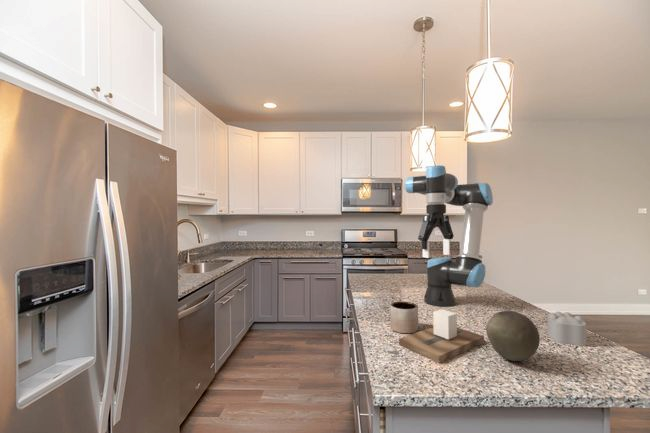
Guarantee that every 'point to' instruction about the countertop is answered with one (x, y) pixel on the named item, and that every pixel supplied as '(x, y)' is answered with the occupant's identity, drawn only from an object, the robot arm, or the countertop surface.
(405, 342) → the fader board
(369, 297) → the countertop surface
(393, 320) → the planter
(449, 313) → the fader cap
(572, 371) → the countertop surface
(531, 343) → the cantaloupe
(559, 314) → the lumpy-topped squat cylinder
